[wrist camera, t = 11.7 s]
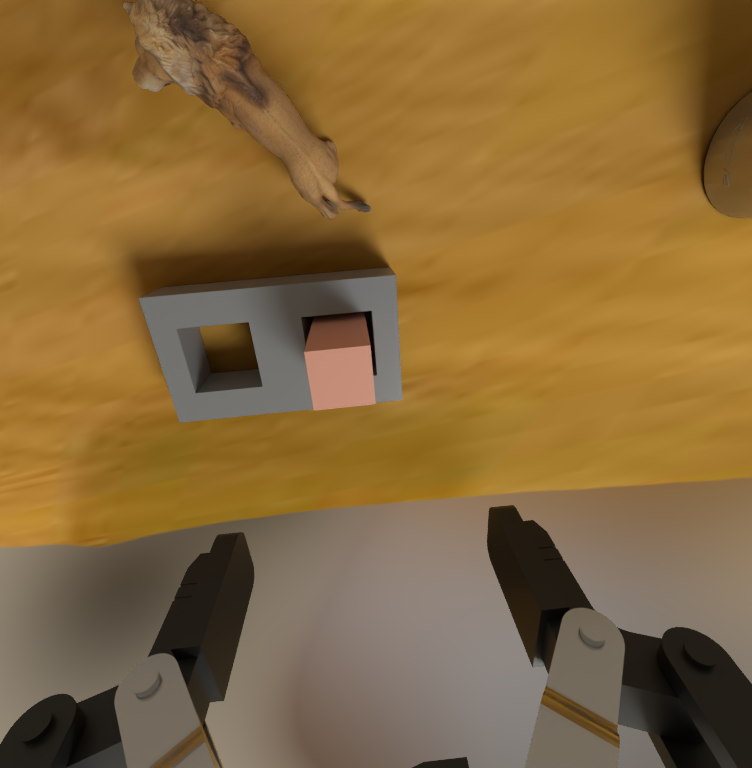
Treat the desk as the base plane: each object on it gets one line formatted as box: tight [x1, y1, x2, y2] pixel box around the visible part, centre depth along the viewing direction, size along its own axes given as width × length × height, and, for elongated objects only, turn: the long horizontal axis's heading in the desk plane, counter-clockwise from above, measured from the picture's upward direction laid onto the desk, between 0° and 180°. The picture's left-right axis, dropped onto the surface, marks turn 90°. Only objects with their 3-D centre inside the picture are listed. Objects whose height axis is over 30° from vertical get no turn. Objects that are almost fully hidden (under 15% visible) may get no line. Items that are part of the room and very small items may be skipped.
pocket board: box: [139, 267, 402, 422], centre depth 31 cm, size 18×10×4 cm, turn 94°
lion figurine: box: [123, 0, 371, 219], centre depth 23 cm, size 15×5×9 cm, turn 54°
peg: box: [304, 311, 376, 411], centre depth 29 cm, size 4×4×10 cm
